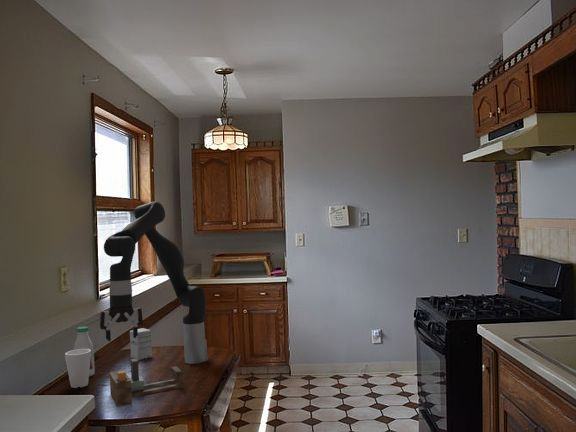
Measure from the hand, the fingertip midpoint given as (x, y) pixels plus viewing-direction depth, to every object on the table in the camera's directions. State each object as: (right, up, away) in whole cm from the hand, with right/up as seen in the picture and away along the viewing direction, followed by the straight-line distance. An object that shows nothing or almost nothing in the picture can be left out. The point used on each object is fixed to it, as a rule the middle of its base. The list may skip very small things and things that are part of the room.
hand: (121, 339), depth 178 cm
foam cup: (-23, -23, +19) cm, 37 cm away
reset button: (+1, -15, -3) cm, 15 cm away
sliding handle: (+3, -20, +6) cm, 21 cm away
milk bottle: (-26, -23, +32) cm, 47 cm away
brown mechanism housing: (+8, -21, +5) cm, 23 cm away
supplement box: (-10, -23, +57) cm, 62 cm away
